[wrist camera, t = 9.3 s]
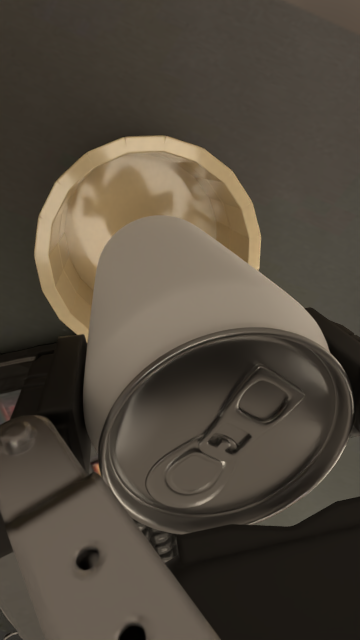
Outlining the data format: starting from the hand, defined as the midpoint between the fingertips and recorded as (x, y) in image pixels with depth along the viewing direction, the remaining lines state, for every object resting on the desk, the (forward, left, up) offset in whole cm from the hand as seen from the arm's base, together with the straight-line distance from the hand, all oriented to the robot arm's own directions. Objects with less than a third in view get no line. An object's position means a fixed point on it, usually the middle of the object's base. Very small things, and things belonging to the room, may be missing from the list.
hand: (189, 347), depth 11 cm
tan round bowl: (0, 0, -19) cm, 19 cm away
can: (0, 0, -8) cm, 8 cm away
